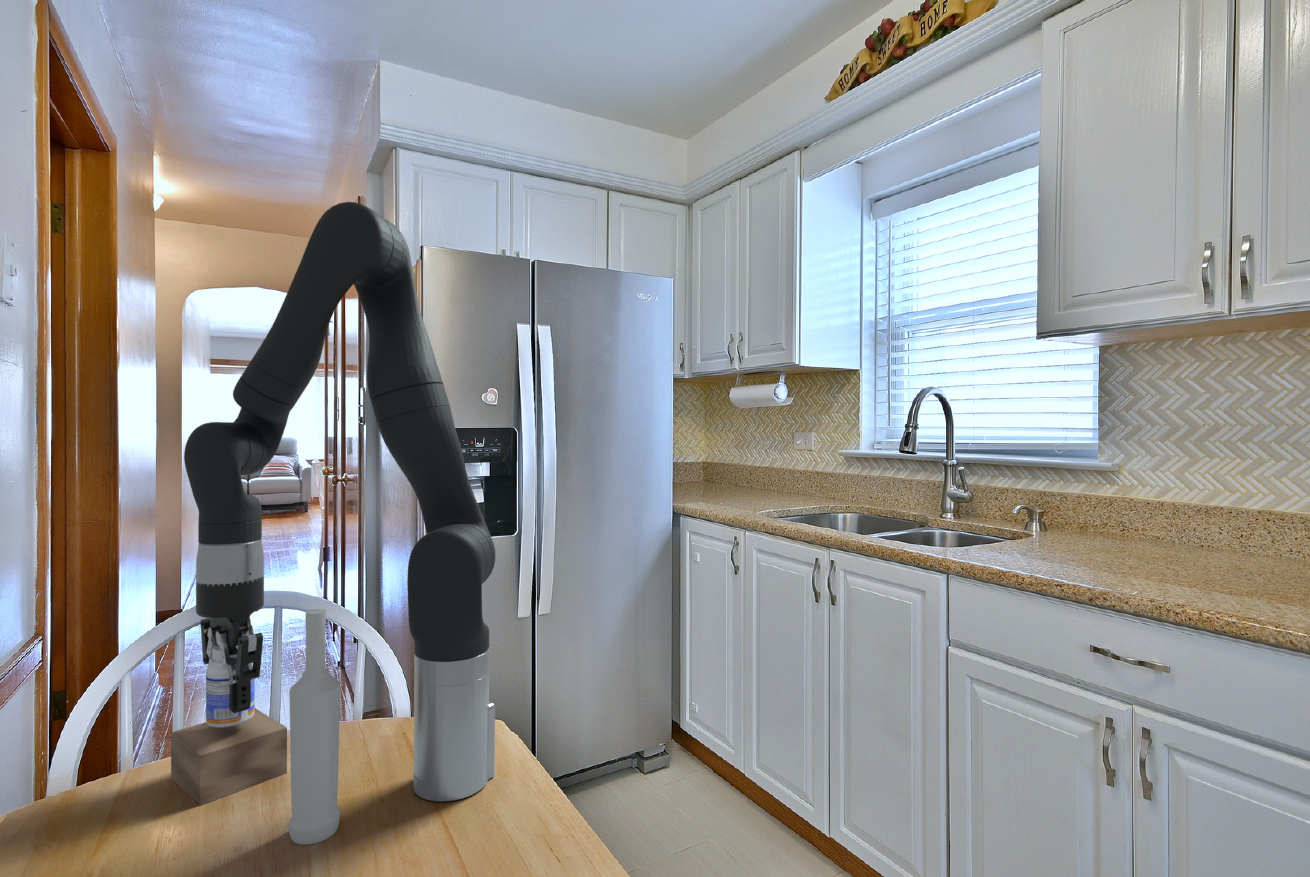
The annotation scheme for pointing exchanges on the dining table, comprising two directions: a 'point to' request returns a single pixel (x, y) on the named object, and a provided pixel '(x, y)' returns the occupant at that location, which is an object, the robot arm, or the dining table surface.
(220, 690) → the pill bottle
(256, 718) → the walnut block
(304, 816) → the bottle
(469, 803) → the dining table surface
